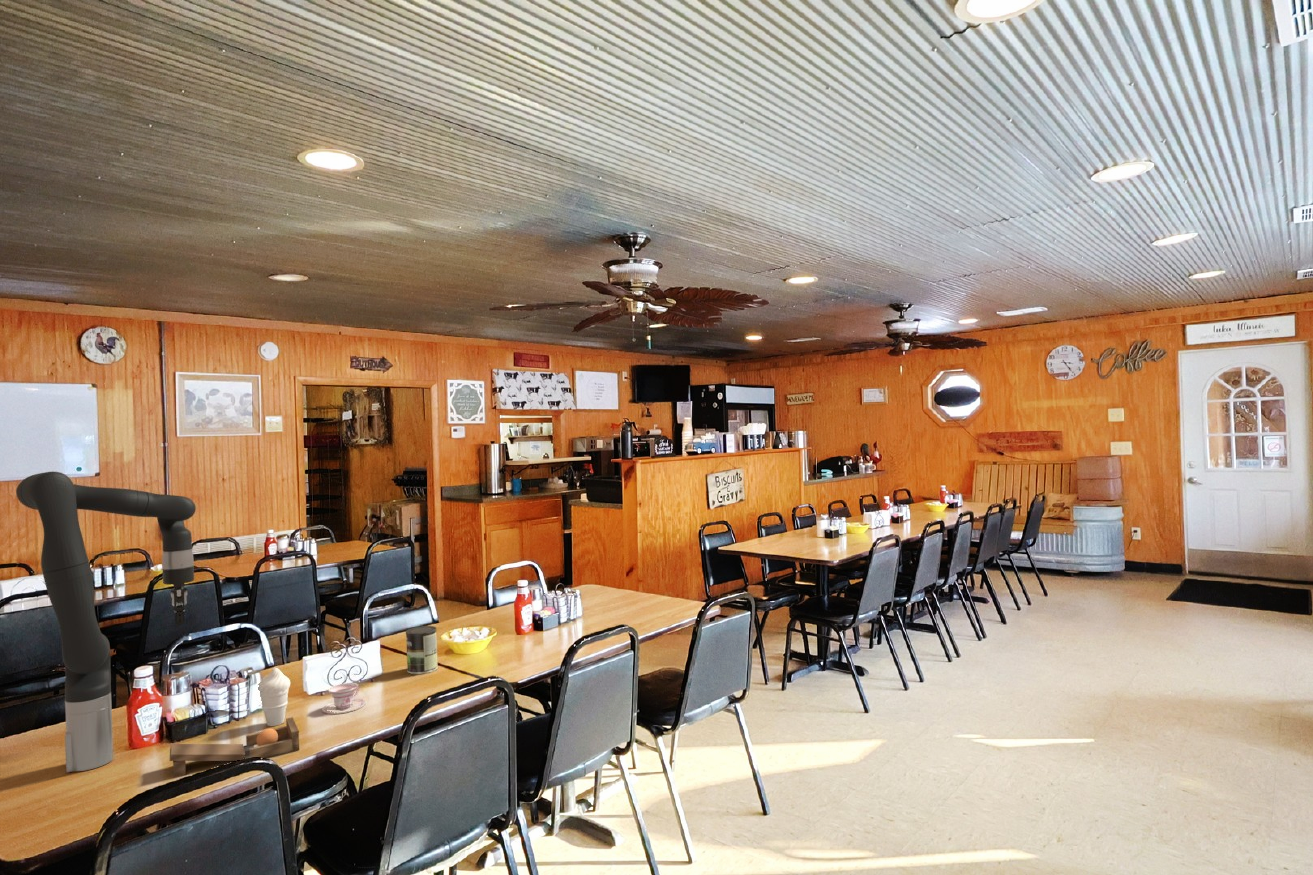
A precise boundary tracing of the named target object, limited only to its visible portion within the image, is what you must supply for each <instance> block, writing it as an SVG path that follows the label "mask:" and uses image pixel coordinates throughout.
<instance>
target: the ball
mask: <svg viewBox="0 0 1313 875" xmlns="http://www.w3.org/2000/svg"><path fill="white" fill-rule="evenodd" d="M274 729H275V728H271V727H269V728H265V729H263V730H261V731H259V732H260V733H259V734H258V736H257V740H256V741H257V745H258V746H262V745H266V744H270V743H275V742H277V740H278V734H277V732H276V731H275V730H274Z"/></svg>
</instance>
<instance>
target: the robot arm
mask: <svg viewBox="0 0 1313 875" xmlns="http://www.w3.org/2000/svg"><path fill="white" fill-rule="evenodd" d="M15 493H16V497H17V500H18V501H19V502H20V503H21V504H22V505H23V506H25V507H26V508H28V509H32V510H36V511H38V514H39V517H40V520H41V524H42V527H43V528H42V529H43V541H42V548H41V555H40V566H41V571H42V575H43V580H44V584H45V587H46V591H47V594H48V598H49V601H50V604H51V606H52V609H53V612H54V614H55V616H56V619H57V622H58V625H59V632H60V634H59V635H60V639H61V641H60V642H61V649H62V651H61V652H62V653H61V654H62V662H63V665H64V668H65V669H64V672H65V681H64V703H65V704H64V706H65V730H66V731H65V733H64V745H65V746H64V747H65V748H64V749H65V770H66V771H65V773H70V772H71V773H72V772H82V771H83V772H85V771H89V770H93V769H96V768H99V767H102V766H105V765H106V764H109V763H111V762H112V761H113V760H114V745H113V744H114V743H113V742H114V741H113V740H114V738H113V716H112V715H113V712H112V710H113V709H112V685H111V684H112V683H111V682H112V673H111V672H112V670H111V667H112V666H111V646H110V645H111V644H110V641H109V639H108V637H107V636H106V635H105V634H103V633H102V631H101V629H100V626H99V623H98V620H97V615H96V610H95V608H96V607H95V588H94V581H93V580H94V578H93V574H92V569H91V565H90V562H89V558H88V554H87V551H86V546H85V542H84V538H83V534H82V531H81V527H80V521H79V514H78V510H84V511H94V512H101V513H107V514H115V515H122V516H131V517H140V518H156V519H157V524H158V526H159V530H160V533H161V536H162V559H161V560H162V561H161V562H162V563H161V564H162V584H164V585H173V587H174V588H173V589H170V597H171V605H172V606H173V612H174V618H175V626H176V627H179V626H184V625H185V623H186V622H185V620H186V613H185V611H186V605H187V602H188V601H187V600H188V598H187V596H188V587H185V585H186V584H185V583H192V582H193V581H194V580H195V567H194V564H195V563H194V562H195V561H194V553H193V540H192V532H191V530H190V529H188V528H186V527H185V526H186V525H185V521H187V520H189V519H190V518H192V517H193V516H194V515H195V513H196V508H197V507H196V504H195V502H194V501H193V500H192V499H191V498H189V497H187V496H183V495H182V496H181V495H173V494H163V493H162V494H161V493H160V494H159V493H153V492H148V491H143V490H137V489H132V488H131V489H129V488H121V487H119V488H118V487H116V488H115V487H104V486H103V487H101V486H100V487H99V486H88V485H80V484H75V483H74V482H73V480H72V479H71V478H70V477H69V476H68V475H67V474H65V473H63V472H59V471H46V472H39V473H36V474H32V475H29V476H27V477H25V478H24V479H23V480H22V481H20V482H19V484H18V485H17V487H16V491H15Z"/></svg>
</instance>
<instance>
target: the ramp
mask: <svg viewBox="0 0 1313 875" xmlns="http://www.w3.org/2000/svg"><path fill="white" fill-rule="evenodd" d="M244 746H245V745H244V744H243V743H242V744H241V743H238V744H237V743H171V745H170V748H169V762H172V765H173V778H176V777H180V776H181V777H182V776H186V773H187V772H186V762H200V761H201V762H204V761H205V762H213V761H214V762H215V761H217V762H218V761H219V762H222V761H223V762H225V761H226V762H229V761H232V762H233V761H234V762H235V761H236V762H238V761H237V760H240V759H243V758H244V759H246V758H245V751H244Z"/></svg>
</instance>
